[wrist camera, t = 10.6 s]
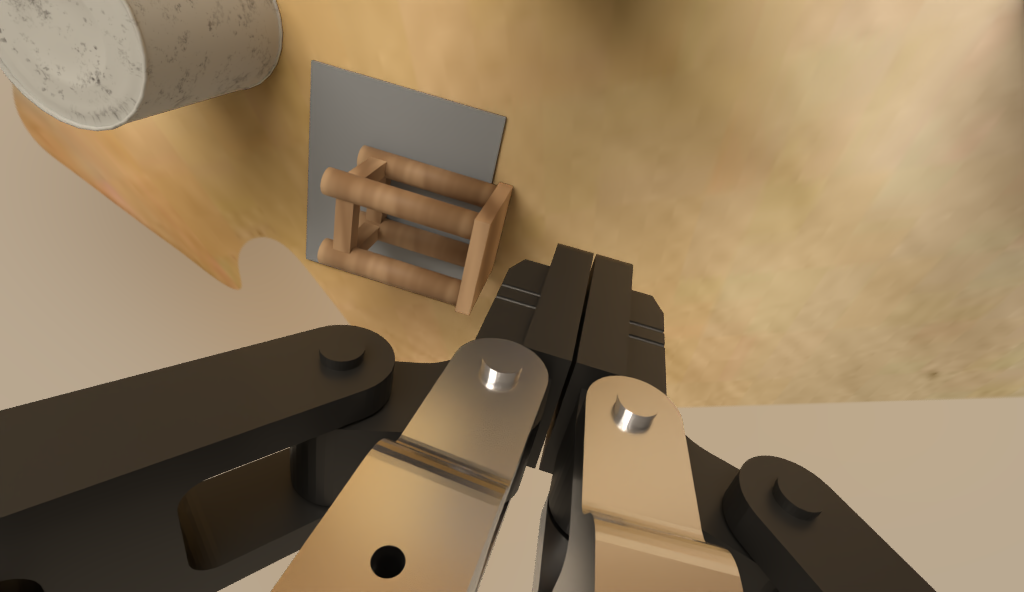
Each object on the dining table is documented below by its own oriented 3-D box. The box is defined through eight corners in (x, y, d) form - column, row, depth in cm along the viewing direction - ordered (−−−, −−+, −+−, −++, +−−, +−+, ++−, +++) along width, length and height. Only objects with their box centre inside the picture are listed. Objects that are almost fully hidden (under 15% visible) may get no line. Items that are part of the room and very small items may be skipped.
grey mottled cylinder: (280, -49, 35) (126, -58, 24) (285, 104, 40) (159, 150, 29) (142, -82, 35) (-65, -105, 25) (164, 72, 40) (-1, 107, 30)
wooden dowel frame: (490, 224, 33) (321, 172, 34) (468, 315, 37) (317, 267, 38) (513, 186, 39) (368, 142, 40) (492, 268, 43) (360, 227, 43)
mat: (506, 117, 37) (505, 117, 37) (464, 307, 46) (463, 308, 45) (312, 60, 38) (311, 60, 37) (307, 257, 46) (306, 258, 46)
